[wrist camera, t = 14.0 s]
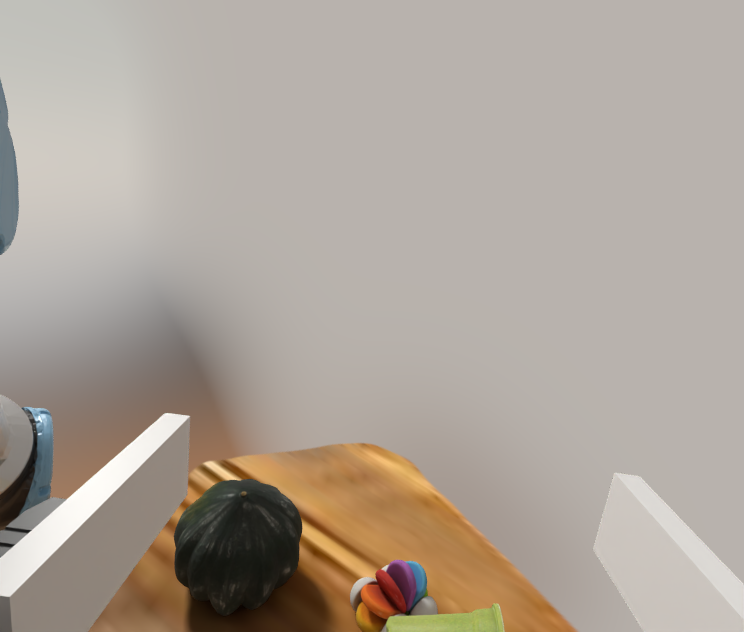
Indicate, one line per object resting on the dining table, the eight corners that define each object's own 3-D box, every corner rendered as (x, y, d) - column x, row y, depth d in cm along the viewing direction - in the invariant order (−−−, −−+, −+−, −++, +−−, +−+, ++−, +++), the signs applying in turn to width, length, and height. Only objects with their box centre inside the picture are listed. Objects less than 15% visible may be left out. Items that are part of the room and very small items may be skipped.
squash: (244, 481, 65) (199, 441, 54) (333, 521, 60) (304, 486, 48) (184, 584, 58) (117, 564, 46) (280, 640, 53) (232, 633, 41)
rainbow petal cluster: (337, 610, 52) (343, 558, 51) (398, 577, 58) (405, 529, 57) (381, 671, 46) (390, 613, 44) (445, 627, 52) (455, 575, 50)
